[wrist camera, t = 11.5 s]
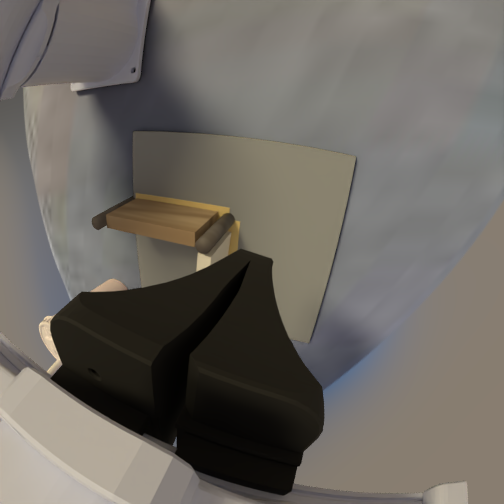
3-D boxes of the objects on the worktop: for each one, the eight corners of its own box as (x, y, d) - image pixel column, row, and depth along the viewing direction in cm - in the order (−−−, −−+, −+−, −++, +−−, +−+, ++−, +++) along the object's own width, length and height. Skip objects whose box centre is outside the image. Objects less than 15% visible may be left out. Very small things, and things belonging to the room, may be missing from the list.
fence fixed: (130, 195, 23) (90, 215, 18) (236, 212, 21) (211, 240, 17) (130, 206, 23) (92, 228, 19) (235, 225, 22) (210, 255, 17)
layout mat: (135, 131, 20) (132, 131, 20) (355, 156, 17) (356, 157, 17) (144, 297, 28) (142, 299, 27) (309, 340, 25) (308, 343, 24)
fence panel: (219, 229, 21) (197, 253, 18) (231, 232, 21) (211, 257, 18) (210, 311, 25) (192, 341, 22) (220, 314, 25) (203, 344, 22)
